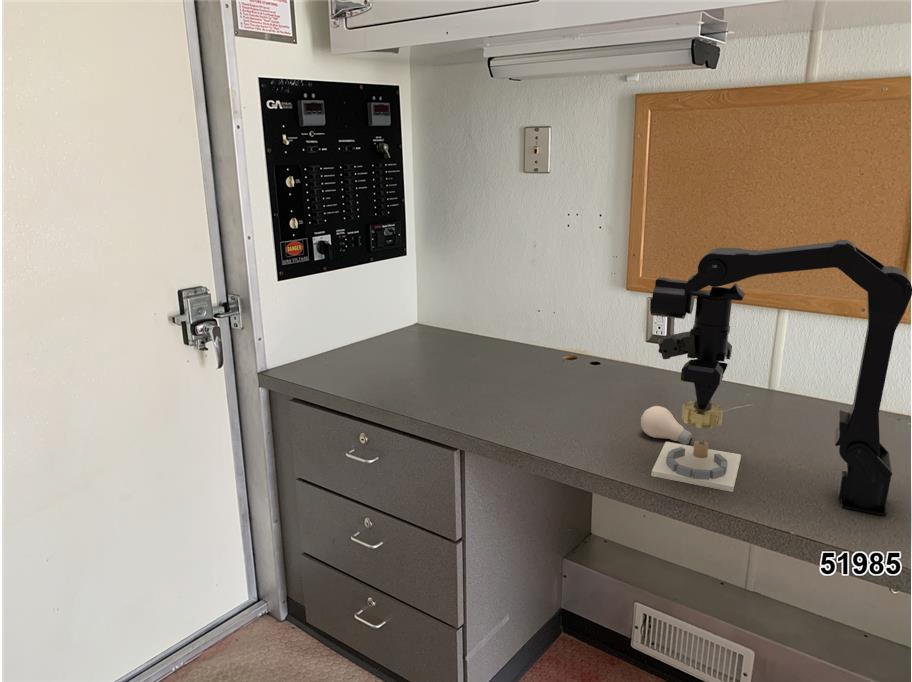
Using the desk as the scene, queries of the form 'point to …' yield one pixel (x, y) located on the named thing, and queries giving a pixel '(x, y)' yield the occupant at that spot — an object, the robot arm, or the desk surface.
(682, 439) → the light bulb
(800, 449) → the desk surface
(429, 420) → the desk surface
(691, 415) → the planet gear
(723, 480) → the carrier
